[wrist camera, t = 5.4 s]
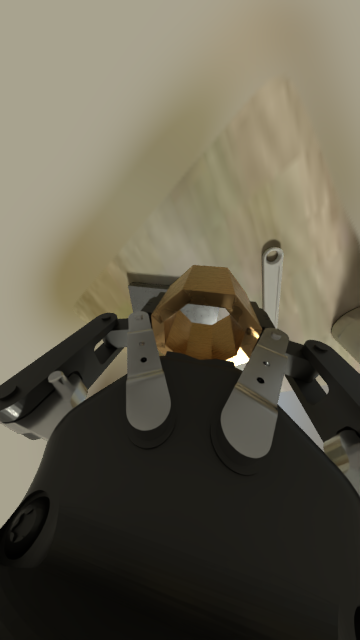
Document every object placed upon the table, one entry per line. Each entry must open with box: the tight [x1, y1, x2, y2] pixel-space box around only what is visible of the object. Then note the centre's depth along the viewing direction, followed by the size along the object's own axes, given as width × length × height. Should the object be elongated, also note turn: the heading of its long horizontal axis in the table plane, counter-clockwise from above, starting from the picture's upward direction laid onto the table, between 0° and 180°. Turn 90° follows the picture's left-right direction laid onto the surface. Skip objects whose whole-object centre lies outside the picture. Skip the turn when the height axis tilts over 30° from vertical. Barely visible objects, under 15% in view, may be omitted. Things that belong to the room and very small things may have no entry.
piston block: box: [128, 282, 219, 325], centre depth 29 cm, size 18×14×8 cm
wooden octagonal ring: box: [151, 265, 262, 366], centre depth 11 cm, size 6×6×5 cm
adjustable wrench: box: [262, 247, 284, 329], centre depth 28 cm, size 25×6×2 cm, turn 13°
